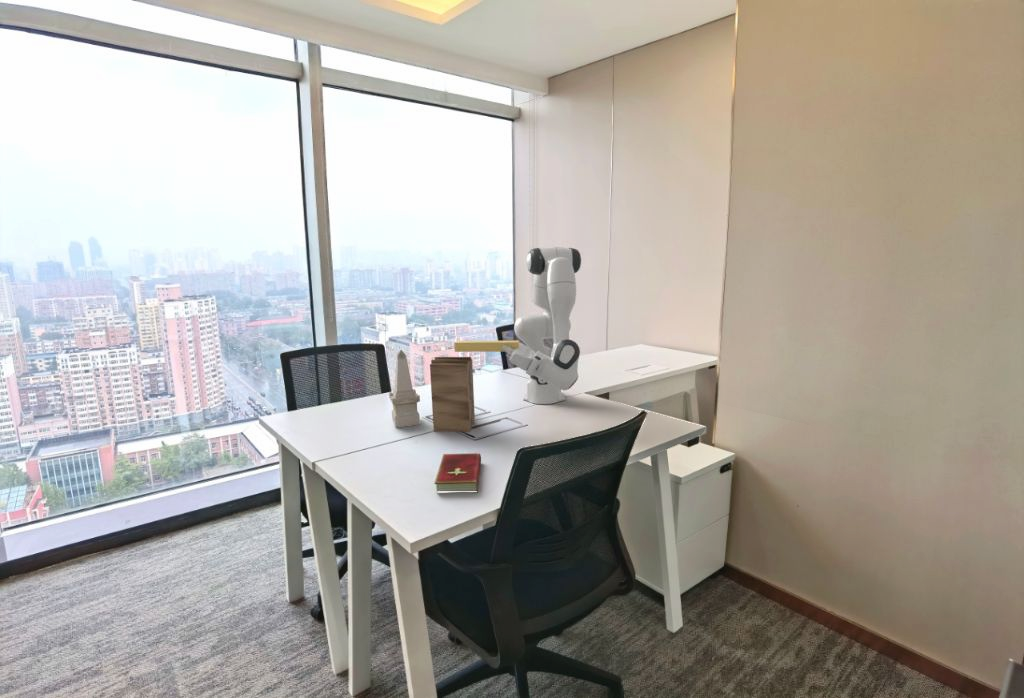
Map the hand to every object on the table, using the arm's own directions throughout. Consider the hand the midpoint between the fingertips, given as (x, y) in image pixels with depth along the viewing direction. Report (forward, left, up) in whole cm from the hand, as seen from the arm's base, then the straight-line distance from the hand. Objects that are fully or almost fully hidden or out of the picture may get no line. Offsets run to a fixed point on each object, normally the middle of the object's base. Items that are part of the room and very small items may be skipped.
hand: (503, 344), depth 194 cm
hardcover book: (+45, -8, -33) cm, 57 cm away
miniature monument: (-4, -41, -33) cm, 53 cm away
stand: (0, -20, -32) cm, 38 cm away
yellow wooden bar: (0, -6, -2) cm, 7 cm away
